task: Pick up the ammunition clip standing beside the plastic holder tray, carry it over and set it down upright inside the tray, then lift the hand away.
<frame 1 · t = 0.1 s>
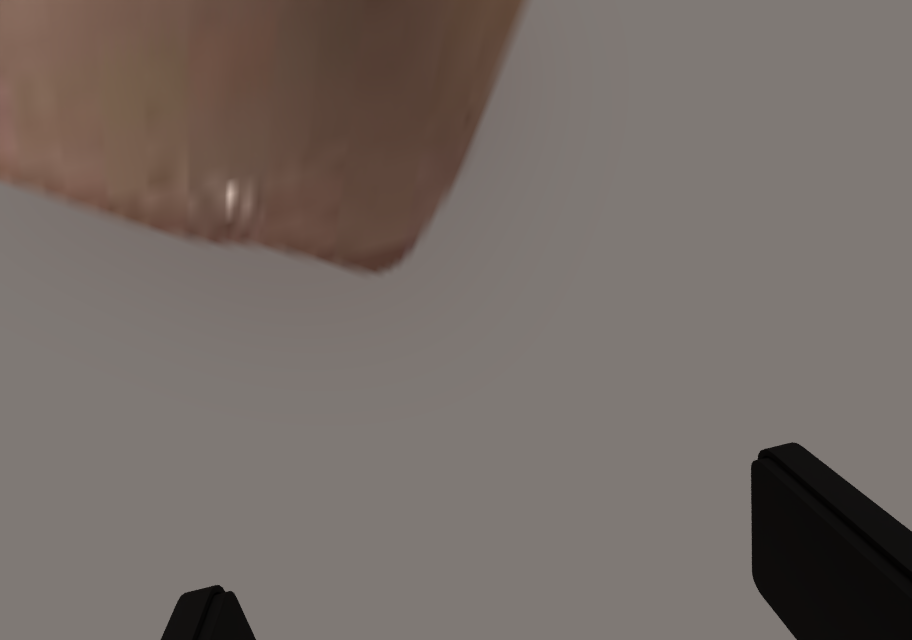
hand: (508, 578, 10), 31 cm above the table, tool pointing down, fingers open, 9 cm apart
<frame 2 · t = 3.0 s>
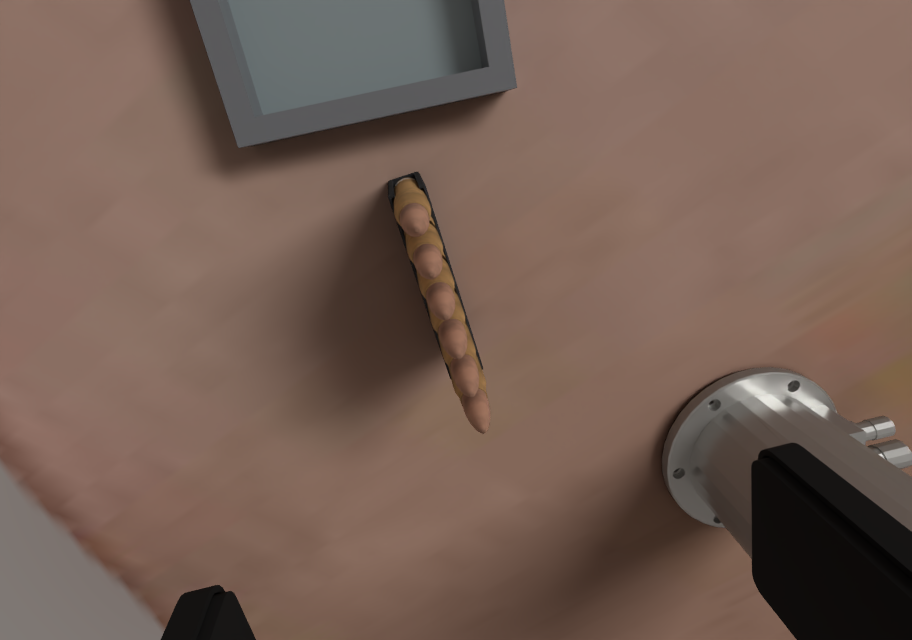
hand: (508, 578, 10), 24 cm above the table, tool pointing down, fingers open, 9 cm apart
ammunition clip: (431, 264, 32), on the table
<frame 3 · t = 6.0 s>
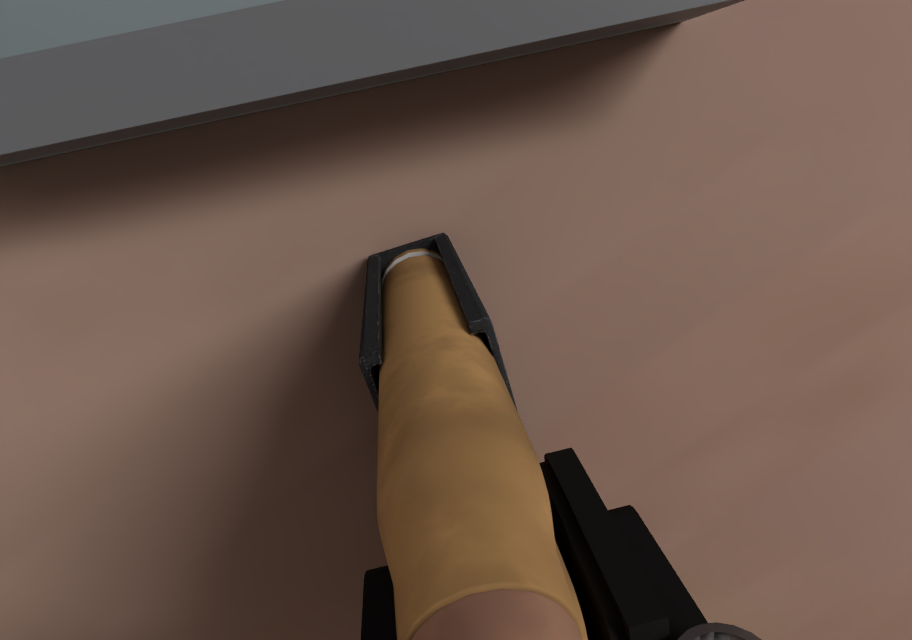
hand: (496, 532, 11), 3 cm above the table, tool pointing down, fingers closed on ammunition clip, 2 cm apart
ammunition clip: (470, 438, 14), on the table, touching gripper
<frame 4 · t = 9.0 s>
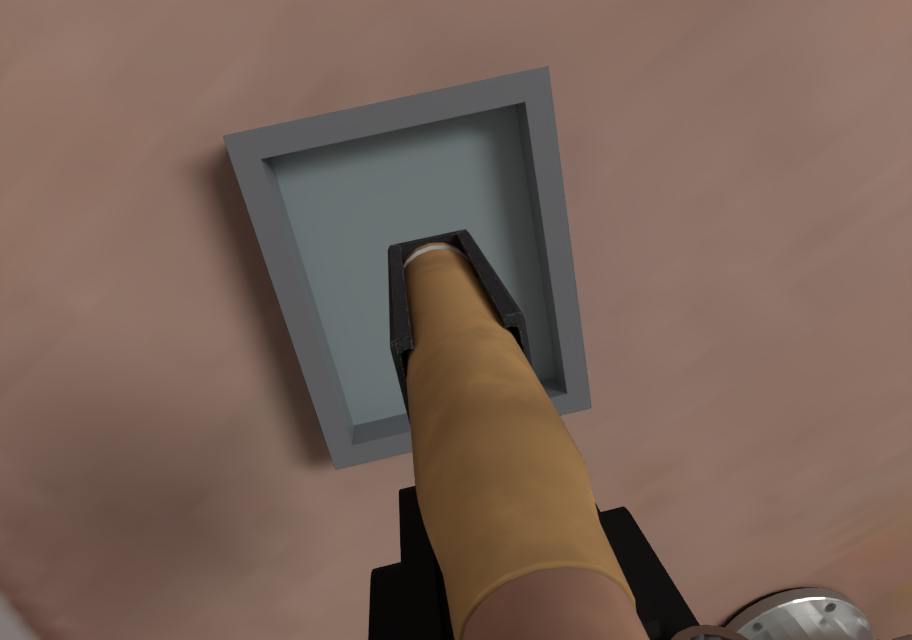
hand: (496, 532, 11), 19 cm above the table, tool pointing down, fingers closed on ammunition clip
ammunition clip: (469, 437, 14), point 16 cm above the table, touching gripper
holder tray: (426, 275, 28), on the table
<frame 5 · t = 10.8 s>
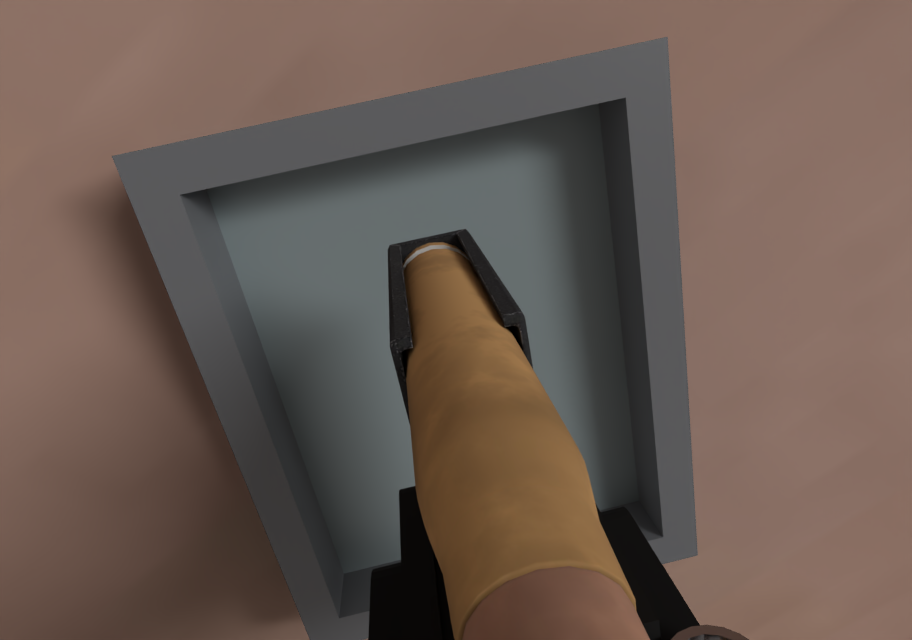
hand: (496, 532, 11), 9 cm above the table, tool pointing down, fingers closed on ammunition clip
ammunition clip: (469, 437, 14), point 5 cm above the table, touching gripper
holder tray: (452, 360, 19), on the table
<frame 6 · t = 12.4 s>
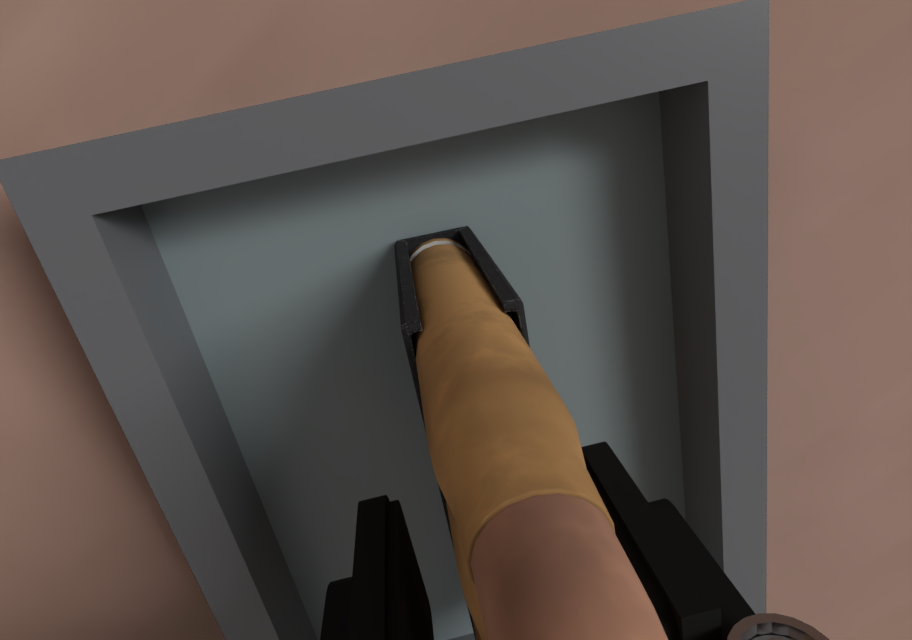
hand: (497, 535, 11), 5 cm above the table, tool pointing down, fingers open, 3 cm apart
ammunition clip: (470, 423, 15), resting on holder tray
holder tray: (464, 414, 15), on the table
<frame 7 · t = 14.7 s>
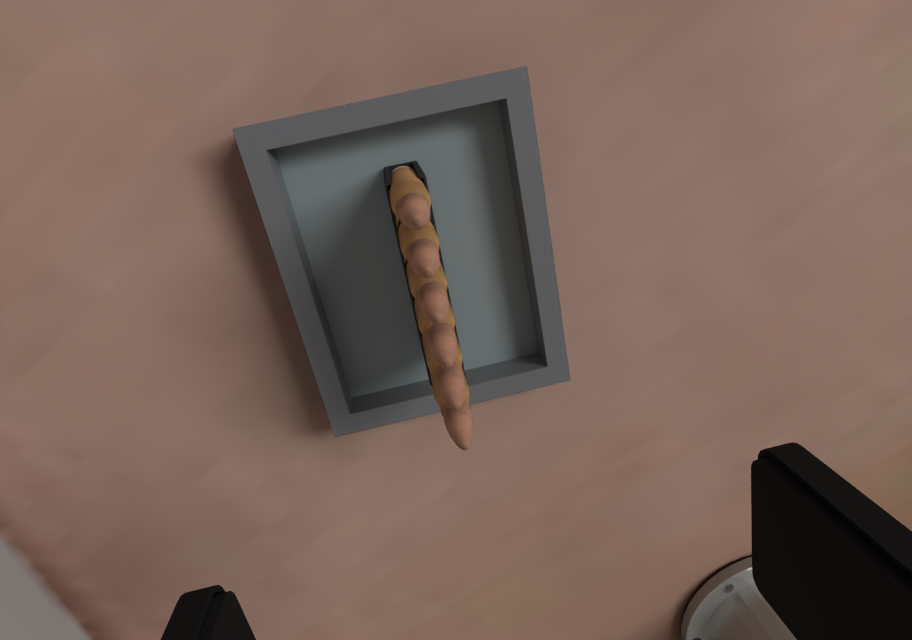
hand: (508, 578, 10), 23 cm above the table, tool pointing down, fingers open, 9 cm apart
ammunition clip: (420, 260, 31), resting on holder tray
holder tray: (418, 257, 31), on the table
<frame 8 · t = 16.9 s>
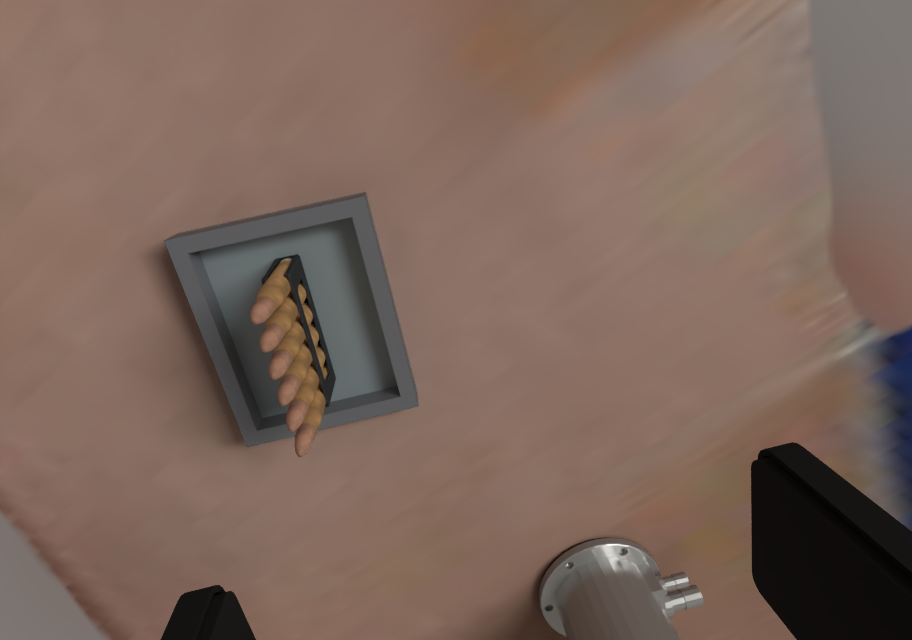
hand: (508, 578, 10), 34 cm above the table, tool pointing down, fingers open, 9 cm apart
ammunition clip: (307, 320, 43), resting on holder tray
holder tray: (306, 318, 43), on the table
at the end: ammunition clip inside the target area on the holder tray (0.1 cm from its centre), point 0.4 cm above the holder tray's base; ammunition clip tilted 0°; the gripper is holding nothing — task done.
